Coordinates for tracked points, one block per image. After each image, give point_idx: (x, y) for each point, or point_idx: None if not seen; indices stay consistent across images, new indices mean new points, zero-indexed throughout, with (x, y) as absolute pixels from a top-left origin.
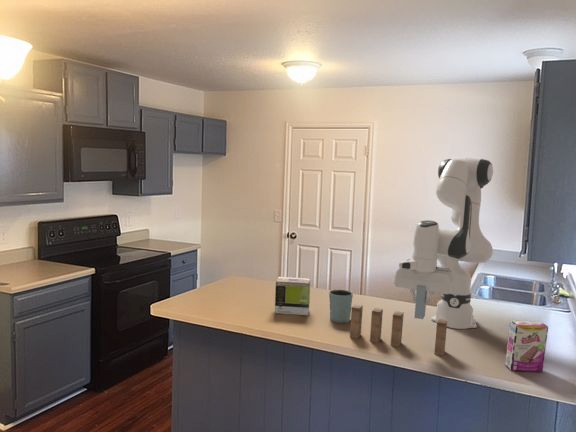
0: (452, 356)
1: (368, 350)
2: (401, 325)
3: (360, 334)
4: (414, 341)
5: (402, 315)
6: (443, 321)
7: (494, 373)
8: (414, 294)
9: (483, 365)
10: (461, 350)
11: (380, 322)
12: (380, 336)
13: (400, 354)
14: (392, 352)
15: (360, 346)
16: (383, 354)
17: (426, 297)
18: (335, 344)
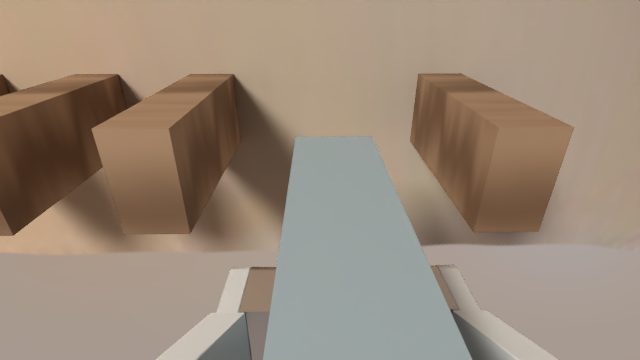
0: None
1: (150, 243)
2: (208, 144)
3: (2, 83)
4: (291, 7)
5: (183, 166)
6: (528, 192)
7: (636, 213)
8: (228, 357)
9: (618, 157)
10: (557, 6)
11: (62, 145)
12: (112, 88)
13: (274, 218)
14: (239, 215)
15: (101, 221)
16: (216, 249)
17: (420, 250)
18: (12, 251)
